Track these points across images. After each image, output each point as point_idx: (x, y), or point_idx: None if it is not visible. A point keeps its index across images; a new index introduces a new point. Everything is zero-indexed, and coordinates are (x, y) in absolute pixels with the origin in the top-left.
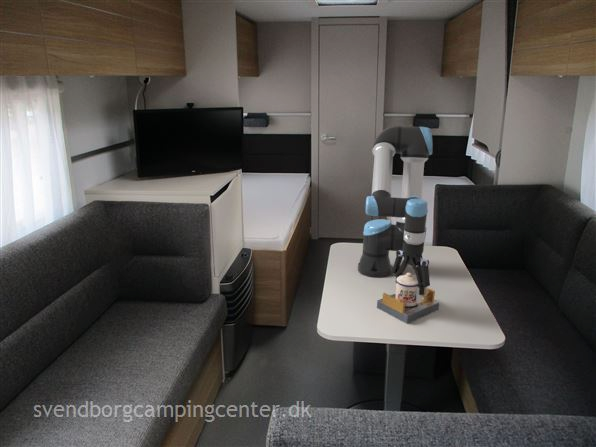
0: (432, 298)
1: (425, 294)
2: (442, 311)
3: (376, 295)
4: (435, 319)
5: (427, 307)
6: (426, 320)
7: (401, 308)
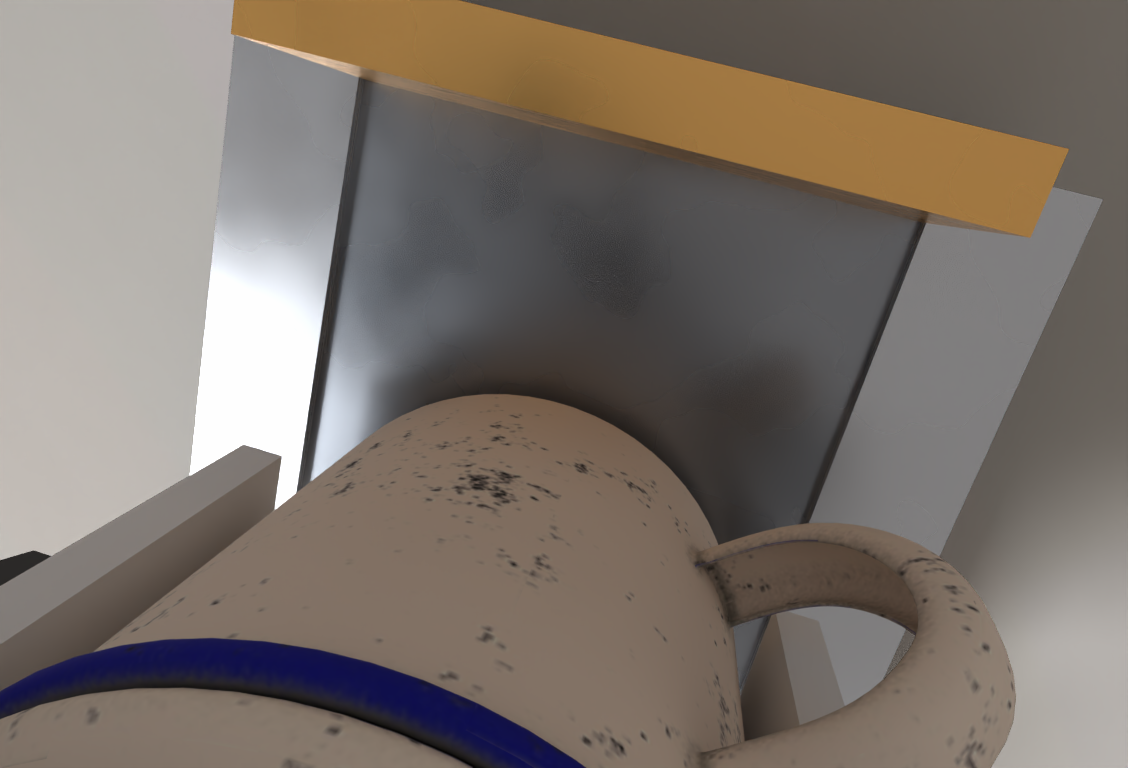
0: (940, 224)
1: (898, 617)
2: (1108, 207)
3: (3, 369)
4: (1069, 555)
5: None
6: None
7: None
